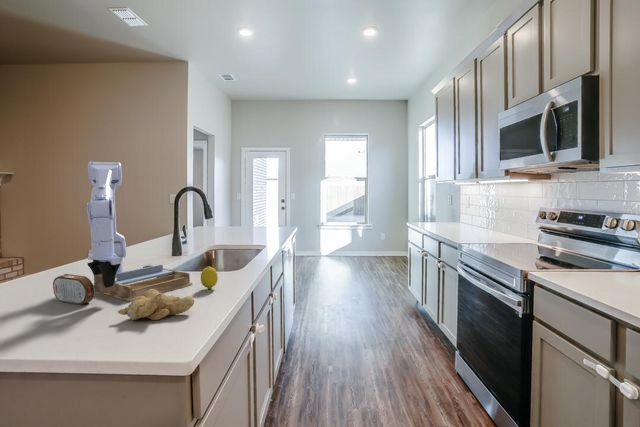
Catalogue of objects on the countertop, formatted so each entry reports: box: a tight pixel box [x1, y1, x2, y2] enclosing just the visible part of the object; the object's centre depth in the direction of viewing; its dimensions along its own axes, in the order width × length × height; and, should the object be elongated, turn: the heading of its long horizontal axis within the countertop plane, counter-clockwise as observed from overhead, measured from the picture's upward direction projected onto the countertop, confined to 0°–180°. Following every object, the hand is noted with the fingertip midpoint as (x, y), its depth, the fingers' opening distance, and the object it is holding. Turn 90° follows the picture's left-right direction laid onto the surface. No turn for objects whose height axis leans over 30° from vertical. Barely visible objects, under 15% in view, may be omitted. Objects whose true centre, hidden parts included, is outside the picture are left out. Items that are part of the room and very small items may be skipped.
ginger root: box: [117, 289, 195, 321], centre depth 97 cm, size 16×16×8 cm
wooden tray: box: [103, 267, 193, 303], centre depth 124 cm, size 19×23×4 cm
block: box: [93, 274, 116, 295], centre depth 107 cm, size 4×4×5 cm
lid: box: [115, 264, 173, 285], centre depth 126 cm, size 8×20×3 cm, turn 147°
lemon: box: [200, 265, 219, 290], centre depth 122 cm, size 6×6×8 cm
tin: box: [52, 273, 96, 305], centre depth 110 cm, size 15×3×8 cm, turn 70°
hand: (105, 285), depth 107 cm, fingers closed on block, 4 cm apart
